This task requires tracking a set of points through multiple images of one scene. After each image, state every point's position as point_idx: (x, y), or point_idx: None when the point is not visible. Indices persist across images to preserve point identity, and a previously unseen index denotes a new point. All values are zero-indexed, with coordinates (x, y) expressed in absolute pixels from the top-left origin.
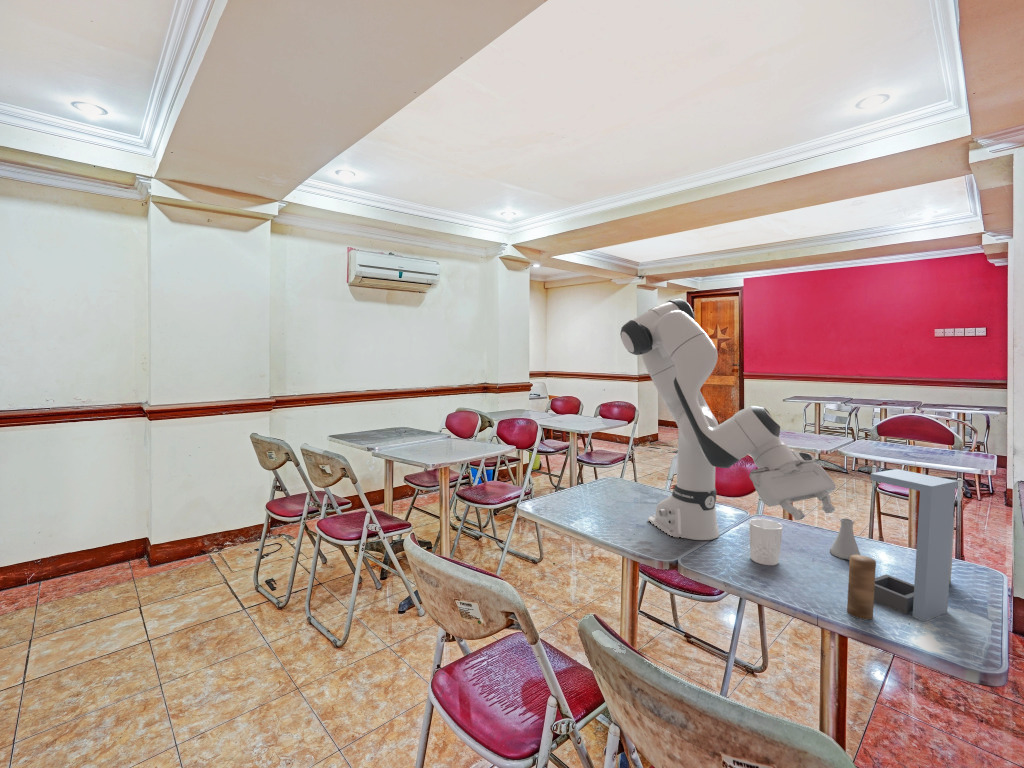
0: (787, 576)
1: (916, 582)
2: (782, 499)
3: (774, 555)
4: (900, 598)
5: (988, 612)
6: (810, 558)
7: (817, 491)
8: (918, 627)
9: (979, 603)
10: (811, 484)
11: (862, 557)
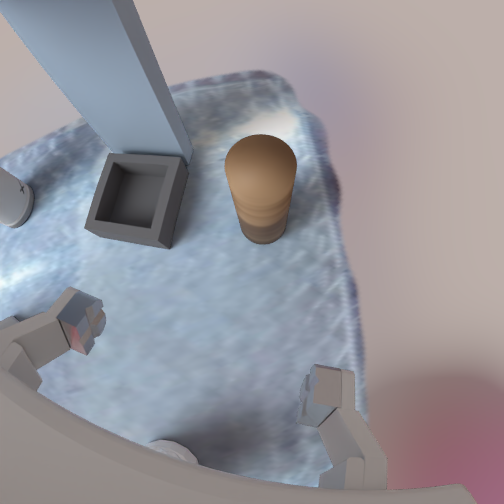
0: (210, 400)
1: (170, 122)
2: (414, 488)
3: (171, 452)
4: (179, 170)
5: (87, 122)
6: (73, 395)
7: (37, 394)
8: (225, 146)
9: (64, 139)
10: (16, 452)
11: (245, 169)
